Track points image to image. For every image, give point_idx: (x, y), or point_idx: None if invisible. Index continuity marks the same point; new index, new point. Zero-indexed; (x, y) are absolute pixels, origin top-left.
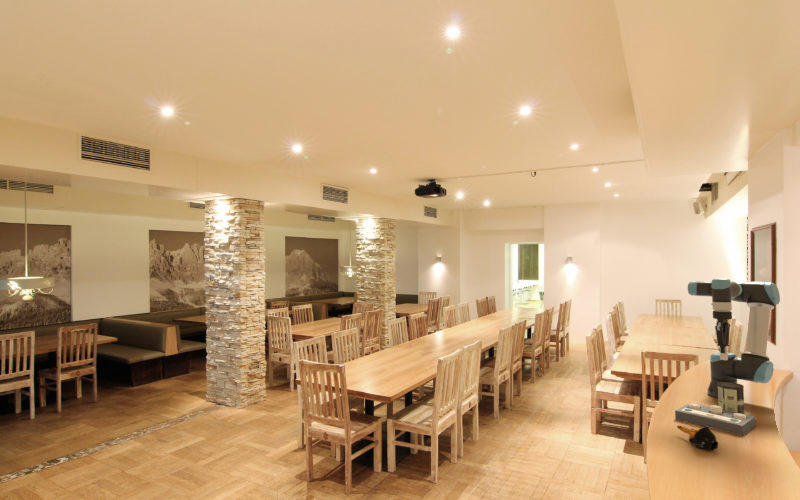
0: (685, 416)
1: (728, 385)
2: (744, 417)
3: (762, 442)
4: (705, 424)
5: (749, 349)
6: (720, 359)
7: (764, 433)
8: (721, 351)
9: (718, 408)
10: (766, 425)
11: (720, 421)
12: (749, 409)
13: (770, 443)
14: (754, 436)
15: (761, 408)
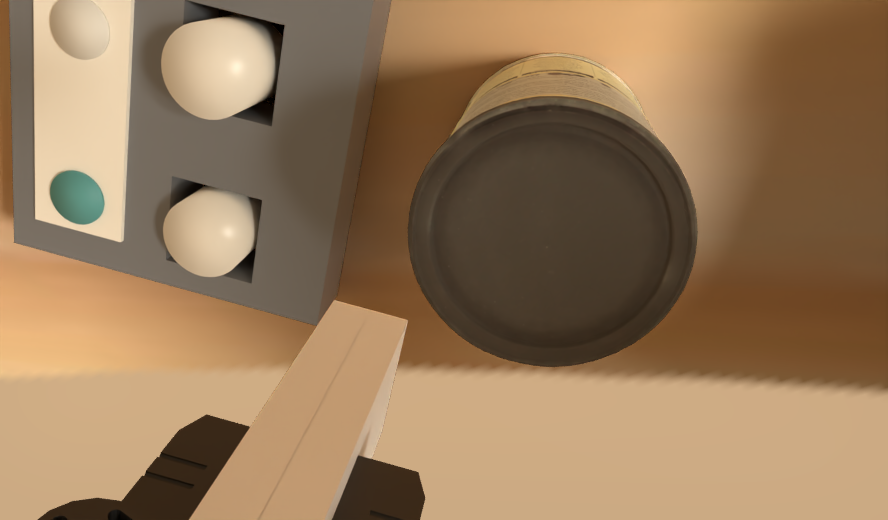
0: None
1: (500, 223)
2: (185, 263)
3: (20, 309)
4: None
5: None
6: (331, 307)
7: (199, 329)
8: (165, 462)
9: (172, 93)
10: None
11: (15, 106)
12: (784, 274)
13: (37, 343)
14: (94, 277)
15: (870, 354)
